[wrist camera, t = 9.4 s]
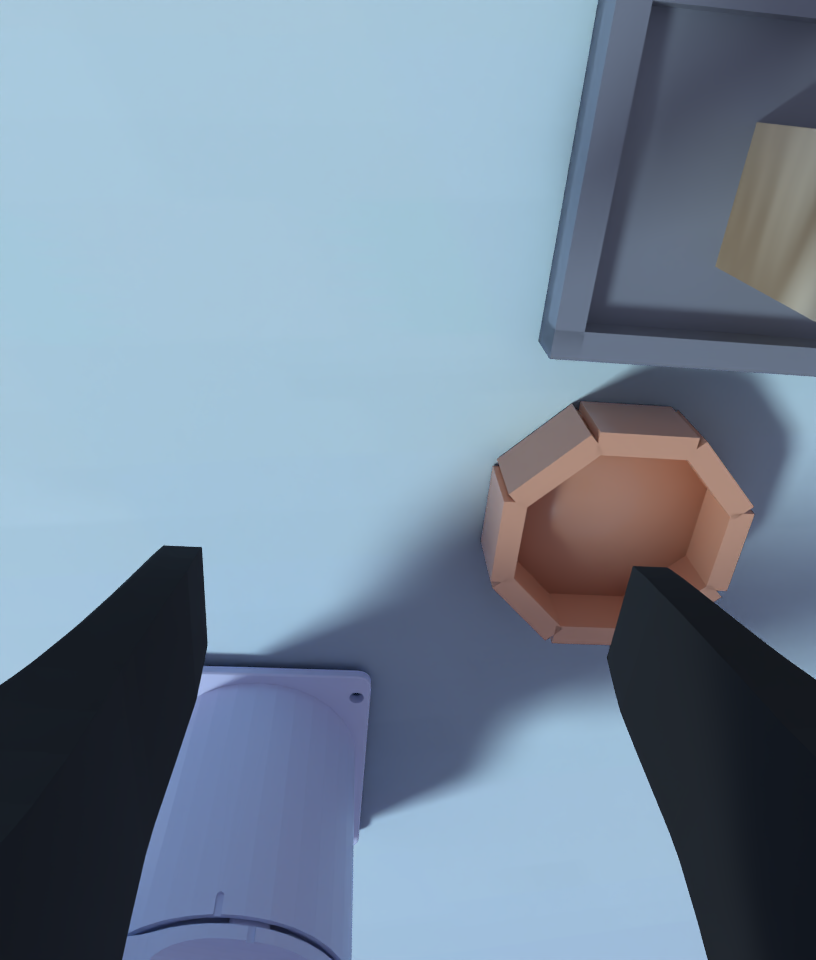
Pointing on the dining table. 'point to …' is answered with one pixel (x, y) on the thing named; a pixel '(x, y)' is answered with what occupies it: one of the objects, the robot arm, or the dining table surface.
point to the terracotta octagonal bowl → (608, 516)
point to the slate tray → (676, 186)
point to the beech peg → (776, 218)
